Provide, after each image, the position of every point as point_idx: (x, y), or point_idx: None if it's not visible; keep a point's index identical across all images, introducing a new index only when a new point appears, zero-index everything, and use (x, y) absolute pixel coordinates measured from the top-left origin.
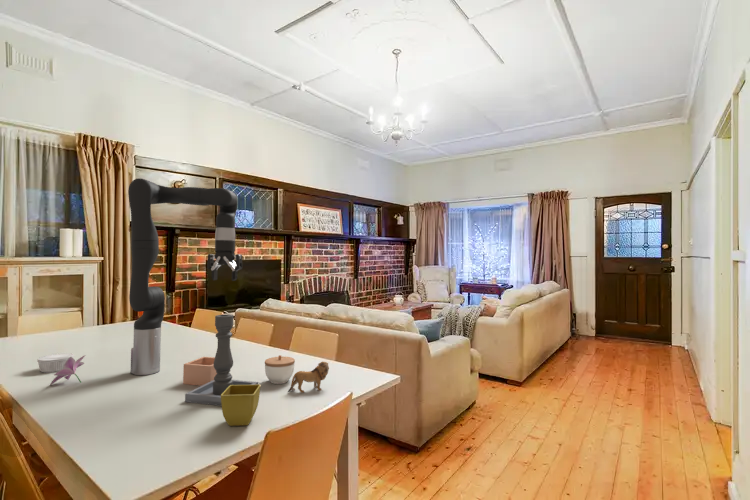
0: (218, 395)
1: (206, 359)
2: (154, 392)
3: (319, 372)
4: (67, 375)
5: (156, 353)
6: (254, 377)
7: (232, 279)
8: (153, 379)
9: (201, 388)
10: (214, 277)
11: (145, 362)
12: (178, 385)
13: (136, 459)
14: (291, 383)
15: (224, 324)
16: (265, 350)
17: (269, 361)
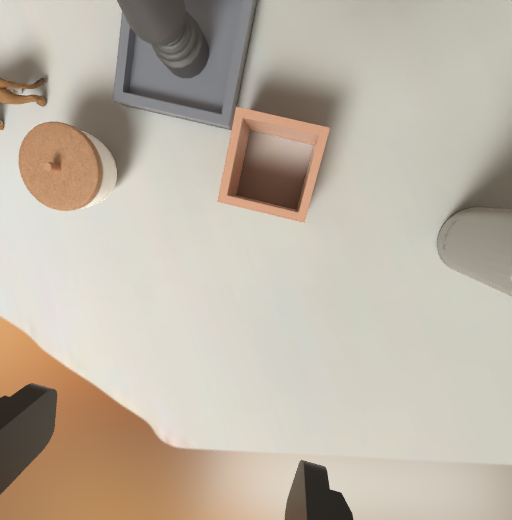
0: None
1: (291, 210)
2: (367, 65)
3: None
4: None
5: (472, 238)
6: (165, 200)
7: (32, 388)
8: (420, 174)
9: (235, 41)
10: (302, 496)
11: (484, 212)
12: (329, 126)
13: None
14: (27, 85)
15: None
16: (222, 443)
17: (77, 145)
